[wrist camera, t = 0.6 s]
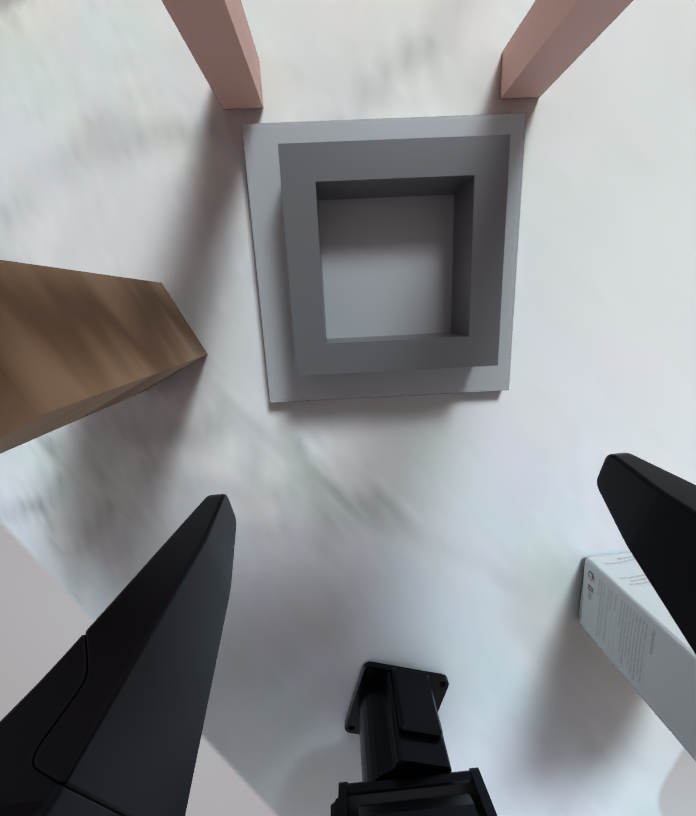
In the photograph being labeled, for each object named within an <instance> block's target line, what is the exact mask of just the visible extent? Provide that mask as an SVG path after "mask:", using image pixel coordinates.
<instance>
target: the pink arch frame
mask: <svg viewBox="0 0 696 816" xmlns="http://www.w3.org/2000/svg"><path fill="white" fill-rule="evenodd" d="M632 1H633V0H536V1H535V2H534V4H533V5H532V7H531V9H530V10H529V12H528V13H527V15H526V16H525V18H524V19H523V21H522V22H521V24H520V25H519V27H518V29H517V30H516V32H515V33H514V35H513V36H512V38H511V39H510V41H509V42H508V44H507V45H506V47H505V48H504V50H503V57H502V78H501V99H505V98H532V97H540V96H541V95H542V94H543V93H544V92H545V91H546V90H547V89H548V88H549V87H550V86H551V85H552V84H553V83H554V82H555V81H556V80H557V79H558V78H559V77H560V75H561V74H562V73H563V72H564V71H565V70H566V69H567V68H568V67H569V66H570V65H571V64H572V63H573V62H574V61H575V60H576V59H577V58H578V57H579V56H580V55H581V54H582V53H583V52H584V51H585V50H586V49H587V48H588V47H589V46H590V45H591V43H592V42H593V41H594V40H595V39H596V38H597V37H598V36H599V35H600V34H601V33H602V32H603V31H604V30H605V29H606V28H607V27H608V26H609V25H610V24H611V23H612V22H613V21H614V20H615V19H616V18H617V17H618V16H619V15H620V14H621V12H622V11H623V10H624V9H625V8H626V7H627V6H628V5H629V4H630V3H631V2H632ZM162 2H163V4H164V5H165V7H166V9H167V11H168V13H169V14H170V16H171V18H172V20H173V21H174V23H175V25H176V27H177V28H178V30H179V32H180V34H181V36H182V37H183V39H184V41H185V43H186V44H187V46H188V48H189V50H190V51H191V53H192V55H193V57H194V58H195V60H196V62H197V64H198V66H199V67H200V69H201V71H202V73H203V74H204V76H205V78H206V80H207V81H208V83H209V85H210V87H211V89H212V90H213V92H214V94H215V96H216V97H217V99H218V101H219V103H220V104H221V106H222V108H223V109H241V108H263V99H262V88H261V76H260V65H259V58H258V55H257V52H256V48H255V45H254V42H253V39H252V35H251V32H250V29H249V26H248V22H247V19H246V16H245V13H244V9H243V6H242V3H241V0H162Z"/></svg>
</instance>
